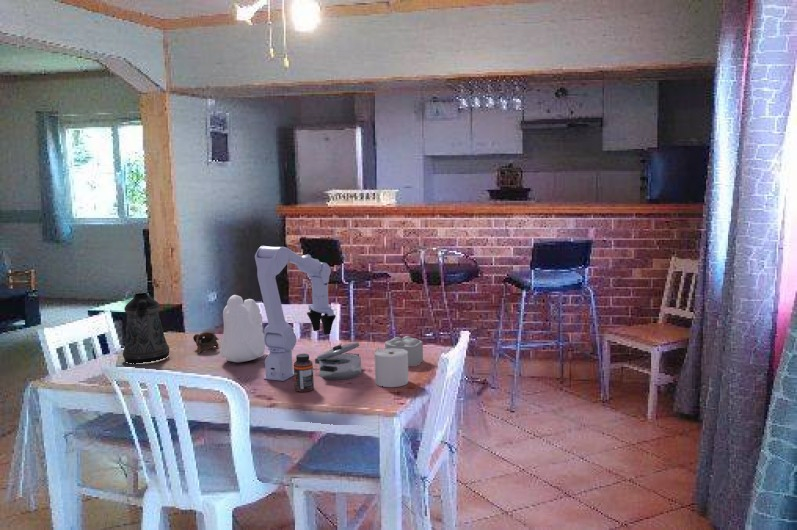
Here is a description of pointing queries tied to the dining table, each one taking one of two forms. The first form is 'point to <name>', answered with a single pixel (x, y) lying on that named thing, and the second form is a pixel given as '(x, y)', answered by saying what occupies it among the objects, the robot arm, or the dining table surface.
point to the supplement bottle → (303, 373)
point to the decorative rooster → (242, 330)
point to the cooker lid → (338, 350)
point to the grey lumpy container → (408, 348)
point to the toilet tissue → (391, 367)
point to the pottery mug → (205, 341)
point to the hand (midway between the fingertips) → (321, 332)
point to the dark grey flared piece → (144, 331)
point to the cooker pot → (340, 366)
